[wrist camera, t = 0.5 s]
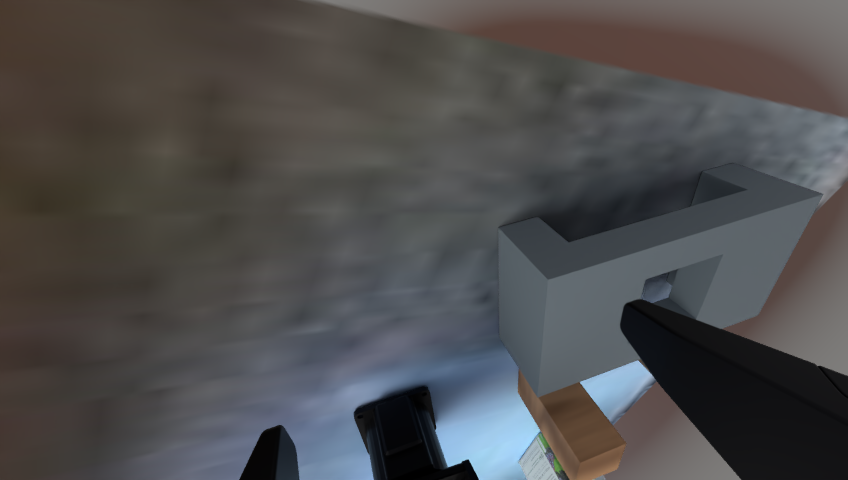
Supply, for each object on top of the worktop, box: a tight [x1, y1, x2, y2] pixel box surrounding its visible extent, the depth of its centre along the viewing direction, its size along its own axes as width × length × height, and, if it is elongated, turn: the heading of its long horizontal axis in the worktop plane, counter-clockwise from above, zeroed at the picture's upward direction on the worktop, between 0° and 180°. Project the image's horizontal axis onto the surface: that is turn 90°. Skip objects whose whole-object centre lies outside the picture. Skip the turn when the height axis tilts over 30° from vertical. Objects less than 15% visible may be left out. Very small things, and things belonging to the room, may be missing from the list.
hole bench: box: [498, 163, 823, 398], centre depth 28 cm, size 11×20×6 cm, turn 97°
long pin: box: [518, 369, 626, 480], centre depth 32 cm, size 4×4×9 cm
